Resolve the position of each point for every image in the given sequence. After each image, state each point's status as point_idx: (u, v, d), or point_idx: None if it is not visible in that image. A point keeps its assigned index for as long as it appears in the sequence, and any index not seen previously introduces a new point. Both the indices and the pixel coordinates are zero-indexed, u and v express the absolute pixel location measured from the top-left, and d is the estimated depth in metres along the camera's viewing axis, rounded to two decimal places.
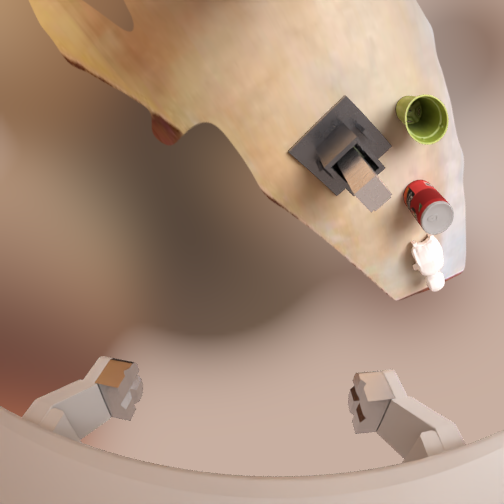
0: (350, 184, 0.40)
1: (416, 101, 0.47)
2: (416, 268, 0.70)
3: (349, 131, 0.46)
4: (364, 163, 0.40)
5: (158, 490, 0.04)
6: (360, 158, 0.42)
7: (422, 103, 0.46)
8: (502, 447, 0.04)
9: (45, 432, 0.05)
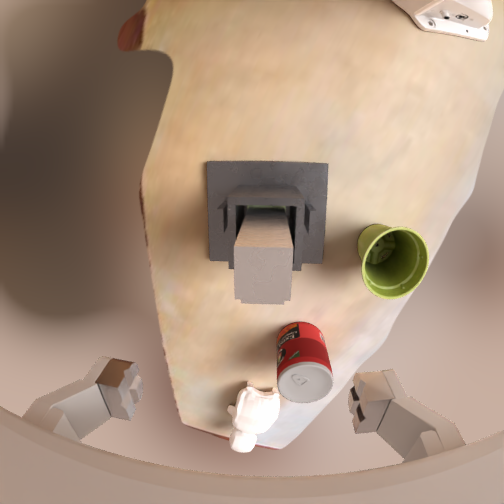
0: (241, 234, 0.23)
1: (392, 242, 0.41)
2: (231, 411, 0.52)
3: (297, 192, 0.33)
4: (286, 229, 0.25)
5: (158, 490, 0.04)
6: (285, 222, 0.27)
7: (397, 248, 0.40)
8: (502, 447, 0.04)
9: (45, 432, 0.05)
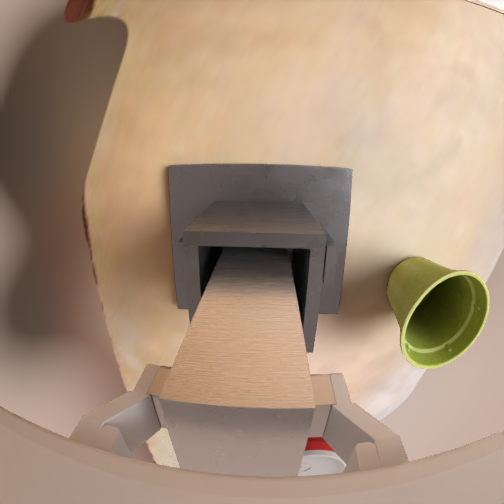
0: (190, 339, 0.10)
1: None
2: None
3: (309, 218, 0.19)
4: (294, 314, 0.11)
5: (158, 490, 0.04)
6: (290, 289, 0.13)
7: (439, 290, 0.27)
8: (502, 447, 0.04)
9: (45, 432, 0.05)
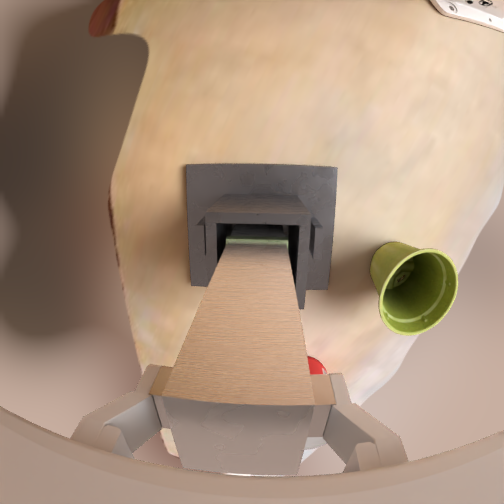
0: (192, 338, 0.10)
1: (411, 263, 0.33)
2: None
3: (300, 205, 0.25)
4: (294, 313, 0.11)
5: (158, 490, 0.04)
6: (290, 289, 0.13)
7: (417, 271, 0.33)
8: (502, 447, 0.04)
9: (45, 432, 0.05)
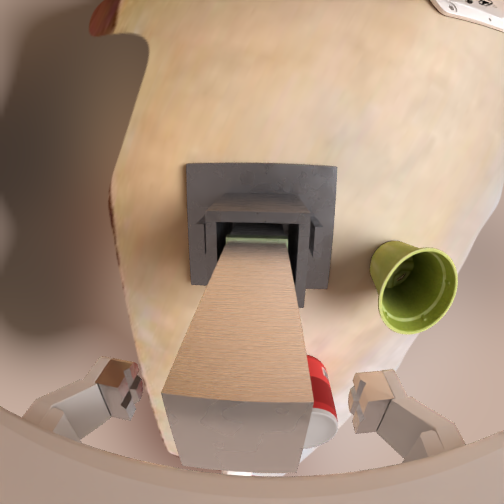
0: (192, 336, 0.10)
1: (410, 262, 0.33)
2: None
3: (300, 204, 0.25)
4: (293, 311, 0.11)
5: (158, 490, 0.04)
6: (289, 288, 0.14)
7: (416, 270, 0.33)
8: (502, 447, 0.04)
9: (45, 432, 0.05)
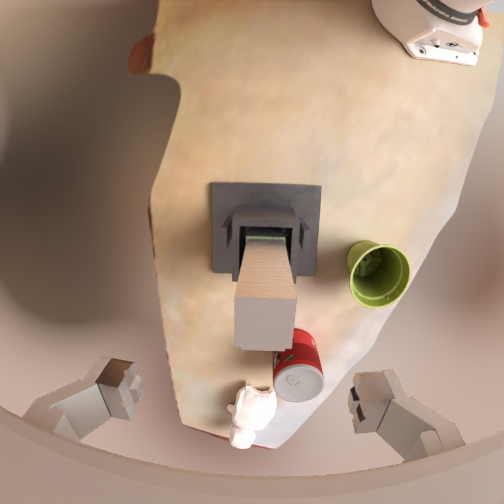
0: (241, 279, 0.22)
1: (379, 257, 0.46)
2: (230, 410, 0.56)
3: (293, 214, 0.37)
4: (288, 271, 0.24)
5: (158, 490, 0.04)
6: (286, 261, 0.26)
7: (383, 262, 0.45)
8: (502, 447, 0.04)
9: (45, 432, 0.05)
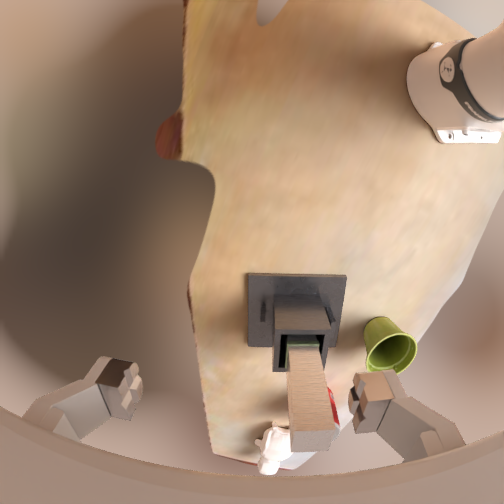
0: (295, 410, 0.27)
1: None
2: (258, 444, 0.61)
3: (324, 314, 0.42)
4: (327, 396, 0.29)
5: (158, 490, 0.04)
6: (324, 383, 0.31)
7: None
8: (502, 447, 0.04)
9: (45, 432, 0.05)
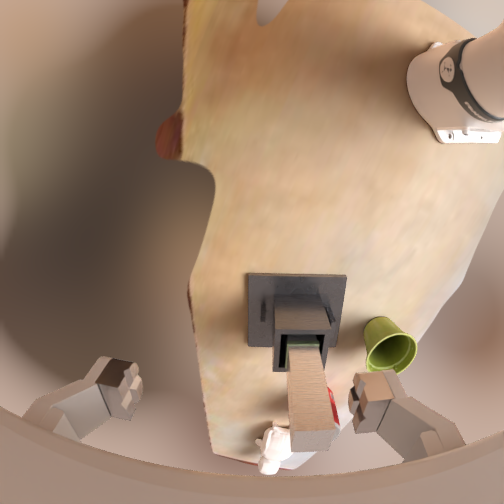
0: (295, 410, 0.27)
1: None
2: (258, 443, 0.61)
3: (324, 314, 0.42)
4: (327, 396, 0.29)
5: (158, 490, 0.04)
6: (324, 383, 0.31)
7: None
8: (502, 447, 0.04)
9: (45, 432, 0.05)
